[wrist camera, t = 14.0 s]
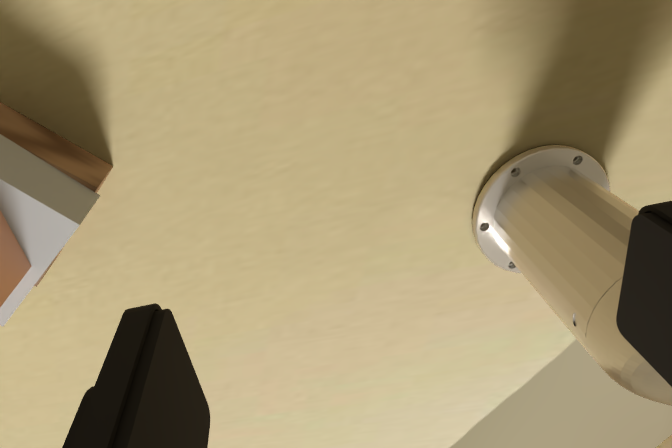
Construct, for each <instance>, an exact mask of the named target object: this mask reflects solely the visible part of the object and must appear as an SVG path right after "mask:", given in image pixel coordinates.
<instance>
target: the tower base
mask: <svg viewBox="0 0 672 448" xmlns="http://www.w3.org/2000/svg"><path fill="white" fill-rule="evenodd" d="M0 134H1V135H3V136H4V137H6V138H7V139H9V140H11V141H12V142H14V143H16V144H17V145H19V146H20V147H22V148H24V149H25V150H27V151H29V152H30V153H32V154H33V155H35V156H37V157H38V158H40V159H42V160H43V161H45V162H46V163H48V164H50V165H51V166H53V167H55V168H56V169H58V170H59V171H61V172H63V173H64V174H66V175H68V176H69V177H71V178H72V179H74V180H76V181H77V182H79V183H81V184H82V185H84V186H85V187H87V188H89V189H90V190H92V191H94V192H95V193H97V192H98V190H99V189H100V187H101V185H102V184H103V182H104V180H105V179H106V177H107V176H108V174H109V172H110V171H111V169H112V168H113V166H112V165H110V164H109V163H107V162H105V161H103V160H101V159H100V158H98V157H96V156H94V155H93V154H91V153H89V152H87V151H86V150H84V149H82V148H80V147H78V146H77V145H75V144H73V143H71V142H70V141H68V140H66V139H64V138H63V137H61V136H59V135H57V134H56V133H54V132H52V131H50V130H48V129H47V128H45V127H43V126H41V125H40V124H38V123H36V122H34V121H33V120H31V119H29V118H27V117H25V116H24V115H22V114H20V113H18V112H17V111H15V110H13V109H11V108H10V107H8V106H6V105H4V104H2V103H1V102H0ZM63 247H64V246H63ZM61 250H62V249H61ZM61 250H60V252H61ZM60 252H59V253H60ZM59 253H58V254H57V256H56V257H55V258H54V260H53V261H52V262H51V264H50V265H49V266H48V268H47V269H46V270H45V272H44V273H43V274H42V276H41V277H40V278H39V280H38V281H37V282H36V284H35V285H34V286H36V287H37V285H38V284H39V282H40V281H41V280H42V278H43V277H44V275H45V274H46V272H47V271H48V270H49V268H50V267H51V265H52V264H53V262H54V261H55V260H56V258H57V257H58V255H59Z"/></svg>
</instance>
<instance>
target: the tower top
mask: <svg viewBox="0 0 672 448" xmlns="http://www.w3.org/2000/svg"><path fill="white" fill-rule="evenodd" d="M99 196H100V195H99V194H97V193H95V192H94V191H92V190H90V189H89V188H87V187H85V186H84V185H82V184H81V183H79V182H77V181H76V180H74V179H72V178H71V177H69V176H68V175H66V174H64V173H63V172H61V171H59V170H58V169H56V168H55V167H53V166H51V165H50V164H48V163H46V162H45V161H43V160H42V159H40V158H38V157H37V156H35V155H33V154H32V153H30V152H29V151H27V150H25V149H24V148H22V147H20V146H19V145H17V144H16V143H14V142H12V141H11V140H9V139H7V138H6V137H4V136H3V135H1V134H0V210H1V212H2V214H3V216H4V218H5V219H6V221H7V223H8V225H9V227H10V228H11V230H12V232H13V234H14V236H15V237H16V239H17V241H18V243H19V245H20V246H21V248H22V250H23V252H24V254H25V255H26V257H27V259H28V261H29V263H30V264H31V266H32V267H31V268H30V269H29V270H28V272H27V273H26V274H25V276H24V277H23V278H22V280H21V281H20V282H19V284H18V285H17V286H16V288H15V289H14V290H13V292H12V293H11V294H10V295H9V297H8V298H7V299H6V301H5V302H4V303H3V305H2V306H1V307H0V325H1V326H4V325H5V323H6V322H7V321H8V320H9V318H10V317H11V316H12V314H13V313H14V312H15V310H16V309H17V308H18V306H19V305H20V304H21V302H22V301H23V300H24V298H25V297H26V296H27V294H28V293H29V292H30V290H31V289H32V288H33V286H34V285H35V284H36V282H37V281H38V280H39V278H40V277H41V276H42V274H43V273H44V272H45V270H46V269H47V268H48V266H49V265H50V264H51V262H52V261H53V260H54V258H55V257H56V256H57V254H58V253H59V252H60V250H61V249H62V248H63V246H64V245H65V244H66V242H67V241H68V240H69V239H70V237H71V236H72V235H73V233H74V232H75V231H76V229H77V228H78V227H79V225H80V224H81V222H82V221H83V219H84V218H85V217H86V215H87V214H88V212H89V211H90V209H91V208H92V207H93V205H94V204H95V202H96V201H97V199H98V198H99Z"/></svg>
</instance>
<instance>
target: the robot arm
mask: <svg viewBox="0 0 672 448" xmlns="http://www.w3.org/2000/svg"><path fill="white" fill-rule="evenodd" d="M472 225H473V234H474V237H475V240H476V243H477V245H478V246H479V248H480V250H481V251H482V253H483V254H484V255H485V256H486V257H487V259H488V260H489V261H491V262H492V263H493V264H494V265H496V266H497V267H500V268H502V269H504V270H506V271H510V272H515V273H522V274H523V275H524V276H525V278H526V279H527V280H528V281H529V282H530V284H531V285H532V286H533V287H534V288H535V290H536V291H537V292H538V293H539V294H540V296H541V297H542V298H543V299H544V300H545V302H546V303H547V304H548V305H549V306H550V308H551V309H552V310H553V311H554V312H555V313H556V315H557V316H558V317H559V318H560V319H561V321H562V322H563V323H564V324H565V325H566V327H567V328H568V329H569V330H570V331H571V333H572V334H573V335H574V336H575V337H576V339H577V340H578V341H579V342H580V343H581V344H582V346H583V347H584V348H585V349H586V350H587V352H588V353H589V354H590V355H591V356H592V357H593V359H594V360H595V361H596V362H597V363H598V365H599V366H600V367H601V368H602V369H603V370H604V371H605V373H607V374H608V376H609V377H610V378H612V379H613V380H614V381H615V382H617V383H618V384H619V385H621V386H622V387H624V388H625V389H627V390H629V391H631V392H633V393H634V394H636V395H639V396H641V397H644V398H647V399H649V400H652V401H656V402H659V403H663V404H667V405H671V406H672V201H668V202H663V203H658V204H653V205H648V206H645V207H643V208H641V210H640V211H638V210H637V209H635V208H634V207H632V206H631V205H629V204H628V203H626V202H624V201H623V200H621V199H620V198H618V197H617V196H615V195H614V194H612V193H611V192H610V186H609V180H608V178H607V175H606V173H605V171H604V169H603V168H602V167H601V165H600V164H599V162H597V161H596V160H595V159H594V158H592V157H591V156H590V155H588V154H586V153H585V152H583V151H581V150H579V149H576V148H573V147H570V146H563V145H548V146H541V147H538V148H534V149H530V150H528V151H526V152H524V153H521V154H519V155H517V156H515V157H514V158H512V159H511V160H509V161H508V162H507V163H505V164H504V165H503V166H502V167H500V168H499V169H498V170H497V171H496V172H495V173H494V174H493V175H492V176H491V178H490V179H489V180H488V182H487V183H486V184H485V185H484V187H483V189H482V191H481V193H480V194H479V196H478V199H477V202H476V205H475V207H474V212H473V219H472ZM209 428H210V412H209V407H208V403H207V401H206V398H205V396H204V393H203V391H202V388H201V385H200V383H199V380H198V378H197V375H196V373H195V370H194V368H193V365H192V363H191V360H190V357H189V355H188V352H187V350H186V347H185V345H184V342H183V340H182V337H181V334H180V332H179V329H178V327H177V324H176V322H175V319H174V317H173V314H172V312H171V311H170V310H169V309H164V310H162V309H161V307H160V306H159V305H158V304H151V305H146V306H141V307H136V308H131V309H127V310H125V312H124V313H123V315H122V318H121V321H120V323H119V326H118V328H117V331H116V333H115V336H114V338H113V341H112V343H111V346H110V348H109V351H108V353H107V356H106V358H105V361H104V364H103V366H102V369H101V371H100V374H99V376H98V379H97V381H96V384H95V386H94V387H91V388H90V389H89V390H87V392H86V393H85V395H84V397H83V399H82V401H81V404H80V406H79V408H78V411H77V413H76V416H75V418H74V421H73V423H72V425H71V428H70V430H69V433H68V435H67V438H66V440H65V442H64V445H63V447H62V448H207V446H208V437H209ZM656 448H672V435H671V436H669V437H668V438H667V439H666V440H664V441H663V442H662V443H661V444H660V445H658V446H657V447H656Z"/></svg>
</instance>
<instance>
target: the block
mask: <svg viewBox="0 0 672 448" xmlns="http://www.w3.org/2000/svg"><path fill="white" fill-rule="evenodd" d="M31 267H32V266H31V264H30V263H29V261H28V259H27V257H26V255H25V254H24V252H23V250H22V248H21V246H20V245H19V243H18V241H17V239H16V237H15V236H14V234H13V232H12V230H11V228H10V227H9V225H8V223H7V221H6V219H5V218H4V216H3V214H2V212H1V210H0V307H1V306H2V305H3V303H4V302H5V301H6V299H7V298H8V297H9V295H10V294H11V293H12V292H13V290H14V289H15V288H16V286H17V285H18V284H19V282H20V281H21V280H22V278H23V277H24V276H25V274H26V273H27V272H28V270H29V269H30V268H31Z"/></svg>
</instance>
